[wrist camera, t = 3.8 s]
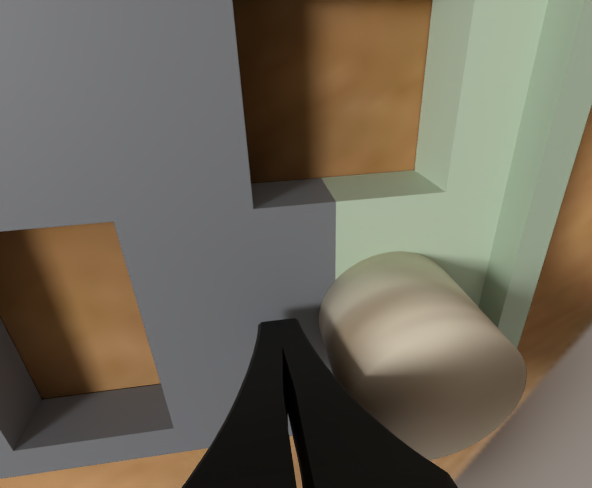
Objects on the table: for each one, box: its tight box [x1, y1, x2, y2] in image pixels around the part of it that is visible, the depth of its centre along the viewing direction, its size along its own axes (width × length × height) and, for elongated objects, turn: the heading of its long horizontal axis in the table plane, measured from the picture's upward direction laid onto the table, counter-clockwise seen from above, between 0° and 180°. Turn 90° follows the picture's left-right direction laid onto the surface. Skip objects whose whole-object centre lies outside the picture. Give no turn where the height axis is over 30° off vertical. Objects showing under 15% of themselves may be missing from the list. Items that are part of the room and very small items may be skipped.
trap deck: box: [0, 0, 592, 479], centre depth 13 cm, size 17×20×4 cm
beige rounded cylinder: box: [319, 251, 527, 460], centre depth 12 cm, size 5×5×4 cm
